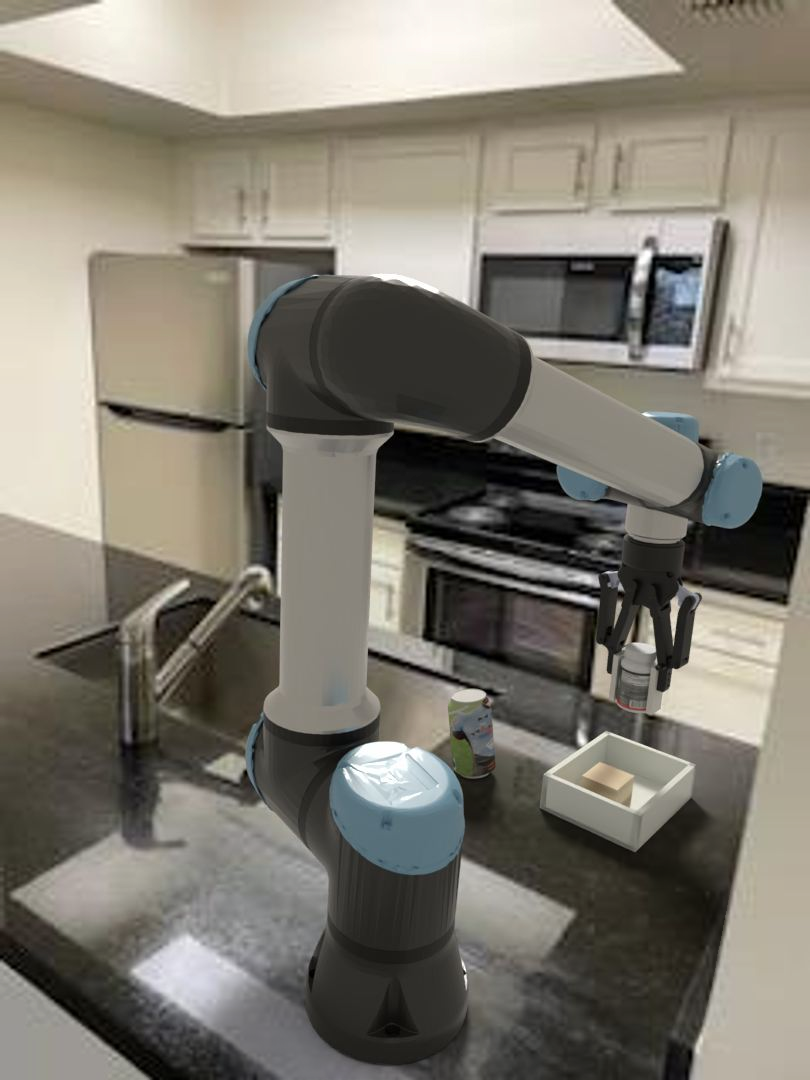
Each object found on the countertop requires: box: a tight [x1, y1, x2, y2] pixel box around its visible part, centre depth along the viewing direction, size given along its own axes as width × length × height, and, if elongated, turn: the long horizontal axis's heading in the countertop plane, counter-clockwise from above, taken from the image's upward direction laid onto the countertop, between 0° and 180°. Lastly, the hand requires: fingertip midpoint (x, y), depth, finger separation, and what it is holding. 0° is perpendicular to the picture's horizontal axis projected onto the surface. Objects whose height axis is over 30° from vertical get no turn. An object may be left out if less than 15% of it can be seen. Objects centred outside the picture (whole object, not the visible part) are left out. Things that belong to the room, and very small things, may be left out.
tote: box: [539, 730, 697, 853], centre depth 113 cm, size 18×14×5 cm
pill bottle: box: [616, 642, 657, 714], centre depth 111 cm, size 5×5×8 cm
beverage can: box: [447, 688, 496, 780], centre depth 118 cm, size 6×7×12 cm
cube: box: [581, 762, 634, 808], centre depth 110 cm, size 5×5×5 cm
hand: (634, 704), depth 112 cm, fingers closed on pill bottle, 5 cm apart
